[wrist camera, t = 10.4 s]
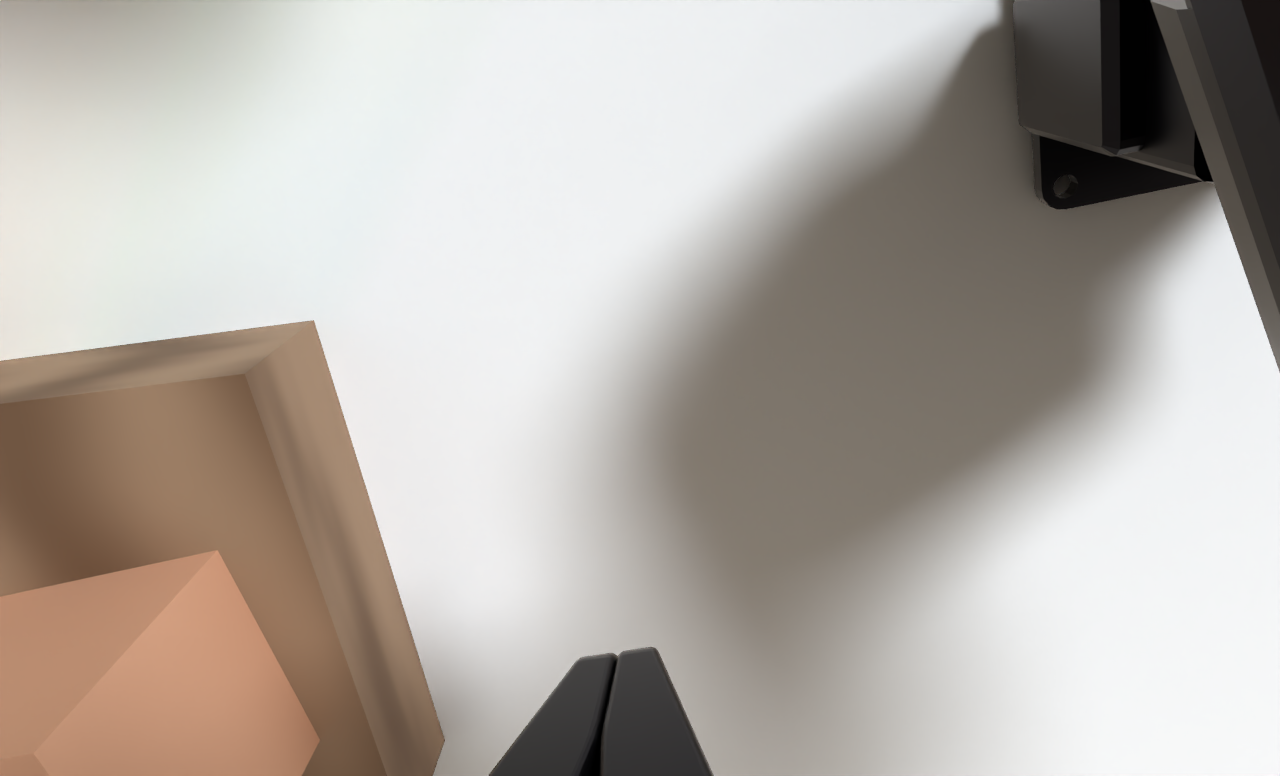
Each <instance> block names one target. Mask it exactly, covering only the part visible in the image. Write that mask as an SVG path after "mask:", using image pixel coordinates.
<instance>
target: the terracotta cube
mask: <svg viewBox="0 0 1280 776" xmlns="http://www.w3.org/2000/svg"><path fill="white" fill-rule="evenodd" d="M319 741H320V739H319V737H318V735H317V733H316V731H315V730H314V728H313V726H312V724H311V722H310V720H309V718H308V717H307V715H306V713H305V711H304V709H303V707H302V705H301V704H300V702H299V700H298V698H297V696H296V694H295V692H294V691H293V689H292V687H291V685H290V683H289V681H288V680H287V678H286V676H285V674H284V672H283V670H282V668H281V667H280V665H279V663H278V661H277V659H276V657H275V655H274V654H273V652H272V650H271V648H270V646H269V644H268V643H267V641H266V639H265V637H264V635H263V633H262V631H261V630H260V628H259V626H258V624H257V622H256V620H255V618H254V617H253V615H252V613H251V611H250V609H249V607H248V605H247V604H246V602H245V600H244V598H243V596H242V594H241V593H240V591H239V589H238V587H237V585H236V583H235V581H234V580H233V578H232V576H231V574H230V572H229V570H228V568H227V567H226V565H225V563H224V561H223V559H222V557H221V556H220V554H219V552H218V550H216V551H211V552H206V553H202V554H197V555H192V556H188V557H183V558H178V559H174V560H169V561H164V562H160V563H155V564H150V565H145V566H141V567H136V568H131V569H127V570H122V571H117V572H113V573H108V574H103V575H99V576H94V577H90V578H85V579H80V580H76V581H71V582H66V583H62V584H57V585H52V586H48V587H43V588H38V589H34V590H29V591H25V592H20V593H15V594H11V595H6V596H1V597H0V776H302V774H303V772H304V770H305V768H306V766H307V765H308V763H309V761H310V759H311V757H312V755H313V753H314V751H315V749H316V747H317V745H318V743H319Z"/></svg>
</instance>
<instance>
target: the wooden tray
mask: <svg viewBox="0 0 1280 776" xmlns="http://www.w3.org/2000/svg"><path fill="white" fill-rule="evenodd" d="M216 550H218V552H219V554H220V556H221V557H222V559H223V561H224V563H225V565H226V567H227V568H228V570H229V572H230V574H231V576H232V578H233V580H234V581H235V583H236V585H237V587H238V589H239V591H240V593H241V594H242V596H243V598H244V600H245V602H246V604H247V605H248V607H249V609H250V611H251V613H252V615H253V617H254V618H255V620H256V622H257V624H258V626H259V628H260V630H261V631H262V633H263V635H264V637H265V639H266V641H267V643H268V644H269V646H270V648H271V650H272V652H273V654H274V655H275V657H276V659H277V661H278V663H279V665H280V667H281V668H282V670H283V672H284V674H285V676H286V678H287V680H288V681H289V683H290V685H291V687H292V689H293V691H294V692H295V694H296V696H297V698H298V700H299V702H300V704H301V705H302V707H303V709H304V711H305V713H306V715H307V717H308V718H309V720H310V722H311V724H312V726H313V728H314V730H315V731H316V733H317V735H318V737H319V739H320V741H319V743H318V745H317V747H316V749H315V751H314V753H313V755H312V757H311V759H310V761H309V763H308V765H307V766H306V768H305V770H304V772H303V774H302V776H433V773H434V770H435V767H436V764H437V761H438V758H439V755H440V753H441V750H442V747H443V744H444V741H445V740H444V736H443V733H442V730H441V727H440V724H439V720H438V717H437V714H436V711H435V708H434V704H433V701H432V698H431V695H430V691H429V688H428V685H427V682H426V679H425V675H424V672H423V669H422V666H421V663H420V659H419V656H418V653H417V650H416V647H415V643H414V640H413V637H412V634H411V631H410V627H409V624H408V621H407V618H406V615H405V611H404V608H403V605H402V602H401V598H400V595H399V592H398V589H397V586H396V582H395V579H394V576H393V573H392V570H391V566H390V563H389V560H388V557H387V554H386V550H385V547H384V544H383V541H382V538H381V534H380V531H379V528H378V525H377V522H376V518H375V515H374V512H373V509H372V506H371V502H370V499H369V496H368V493H367V489H366V486H365V483H364V480H363V477H362V473H361V470H360V467H359V464H358V461H357V457H356V454H355V451H354V448H353V445H352V441H351V438H350V435H349V432H348V429H347V425H346V422H345V419H344V416H343V413H342V409H341V406H340V403H339V400H338V396H337V393H336V390H335V387H334V384H333V380H332V377H331V374H330V371H329V368H328V364H327V361H326V358H325V355H324V352H323V348H322V345H321V342H320V339H319V336H318V332H317V329H316V326H315V323H314V320H313V321H305V322H298V323H290V324H282V325H274V326H267V327H259V328H251V329H243V330H236V331H228V332H220V333H213V334H205V335H197V336H189V337H182V338H174V339H166V340H158V341H151V342H143V343H135V344H127V345H120V346H112V347H104V348H97V349H89V350H81V351H73V352H66V353H58V354H50V355H42V356H35V357H27V358H19V359H11V360H4V361H0V597H1V596H6V595H11V594H15V593H20V592H25V591H29V590H34V589H38V588H43V587H48V586H52V585H57V584H62V583H66V582H71V581H76V580H80V579H85V578H90V577H94V576H99V575H103V574H108V573H113V572H117V571H122V570H127V569H131V568H136V567H141V566H145V565H150V564H155V563H160V562H164V561H169V560H174V559H178V558H183V557H188V556H192V555H197V554H202V553H206V552H211V551H216Z"/></svg>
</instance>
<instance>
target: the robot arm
mask: <svg viewBox="0 0 1280 776" xmlns="http://www.w3.org/2000/svg"><path fill="white" fill-rule="evenodd" d="M1013 19H1014V39H1015V58H1016V78H1017V97H1018V116H1019V124H1020V125H1021V126H1022V127H1024V128H1025V129H1026V130H1028V131H1029V132H1030V133H1032V142H1033V163H1034V185H1035V192H1036V195H1037V197H1038V198H1039V200H1040V201H1041V202H1042V203H1044V204H1046V205H1048V206H1050V207H1053V208H1055V209H1069V208H1074V207H1079V206H1084V205H1089V204H1094V203H1099V202H1104V201H1109V200H1113V199H1118V198H1123V197H1128V196H1133V195H1138V194H1143V193H1148V192H1153V191H1157V190H1162V189H1167V188H1172V187H1177V186H1182V185H1187V184H1192V183H1197V182H1202V181H1204V182H1208V183H1211V184H1214V185H1215V188H1216V190H1217V193H1218V196H1219V199H1220V202H1221V205H1222V208H1223V211H1224V213H1225V216H1226V219H1227V222H1228V225H1229V228H1230V231H1231V234H1232V236H1233V239H1234V242H1235V245H1236V248H1237V251H1238V254H1239V256H1240V259H1241V262H1242V265H1243V268H1244V271H1245V274H1246V277H1247V279H1248V282H1249V285H1250V288H1251V291H1252V294H1253V297H1254V300H1255V302H1256V305H1257V308H1258V311H1259V314H1260V317H1261V320H1262V322H1263V325H1264V328H1265V331H1266V334H1267V337H1268V340H1269V343H1270V345H1271V348H1272V351H1273V354H1274V357H1275V360H1276V363H1277V366H1278V368H1279V371H1280V0H1015V1H1014V3H1013ZM1063 175H1068V176H1069V179H1070V184H1069V187H1068V189H1067V190H1066V191H1065V192H1064V193H1062V194H1060V195H1055V193H1054V190H1053V188H1054V183H1055V182H1056V181H1057V179H1058V178H1059V177H1061V176H1063ZM489 776H714V775H713V773H712V771H711V769H710V767H709V764H708V762H707V760H706V758H705V755H704V753H703V751H702V749H701V746H700V744H699V742H698V740H697V737H696V735H695V733H694V731H693V728H692V726H691V724H690V722H689V719H688V717H687V715H686V713H685V710H684V708H683V706H682V704H681V701H680V699H679V697H678V695H677V692H676V690H675V688H674V686H673V684H672V681H671V679H670V677H669V675H668V672H667V670H666V668H665V666H664V663H663V661H662V659H661V657H660V654H659V652H658V651H657V649H655V648H653V647H647V648H640V649H634V650H627V651H623V652H621V653H620V654H619V655H618V656H617V655H615V654H613V653H606V654H600V655H593V656H586V657H582V658H580V659H579V660H577V661H576V662H575V663H574V665H573V666H572V667H571V669H570V670H569V671H568V673H567V674H566V675H565V677H564V678H563V679H562V680H561V682H560V683H559V684H558V686H557V687H556V688H555V690H554V691H553V692H552V693H551V695H550V696H549V697H548V699H547V700H546V701H545V703H544V704H543V705H542V707H541V708H540V709H539V710H538V712H537V713H536V714H535V716H534V717H533V718H532V720H531V721H530V722H529V723H528V725H527V726H526V727H525V729H524V730H523V731H522V733H521V734H520V735H519V736H518V738H517V739H516V740H515V742H514V743H513V744H512V746H511V747H510V748H509V750H508V751H507V752H506V753H505V755H504V756H503V757H502V759H501V760H500V761H499V763H498V764H497V765H496V766H495V768H494V769H493V770H492V772H491V773H490V774H489Z"/></svg>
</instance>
